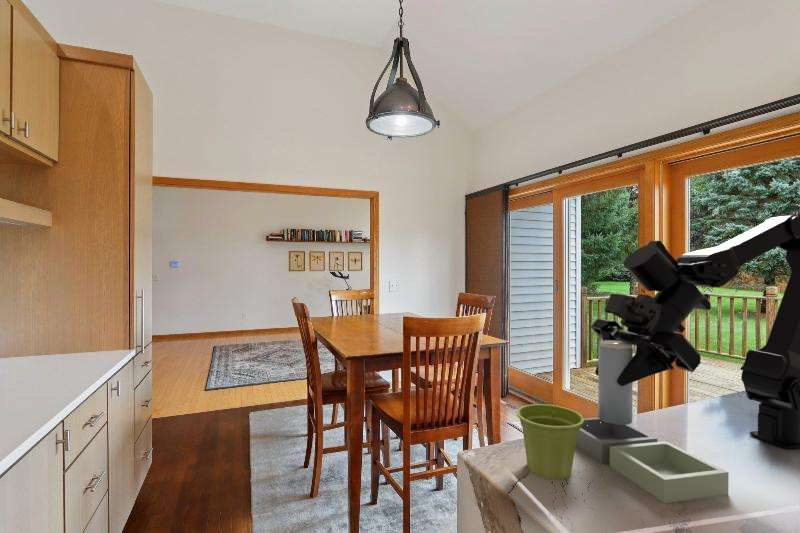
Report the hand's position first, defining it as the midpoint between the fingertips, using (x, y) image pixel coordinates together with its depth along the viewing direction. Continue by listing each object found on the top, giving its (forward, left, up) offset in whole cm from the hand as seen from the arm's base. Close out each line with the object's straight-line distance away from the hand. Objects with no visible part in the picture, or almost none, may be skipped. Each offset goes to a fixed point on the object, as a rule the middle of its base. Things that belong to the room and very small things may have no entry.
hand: (607, 379), depth 69 cm
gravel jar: (-1, 0, -7) cm, 7 cm away
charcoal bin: (-2, -2, -12) cm, 13 cm away
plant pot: (+12, +3, -13) cm, 18 cm away
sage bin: (-2, +9, -12) cm, 16 cm away
